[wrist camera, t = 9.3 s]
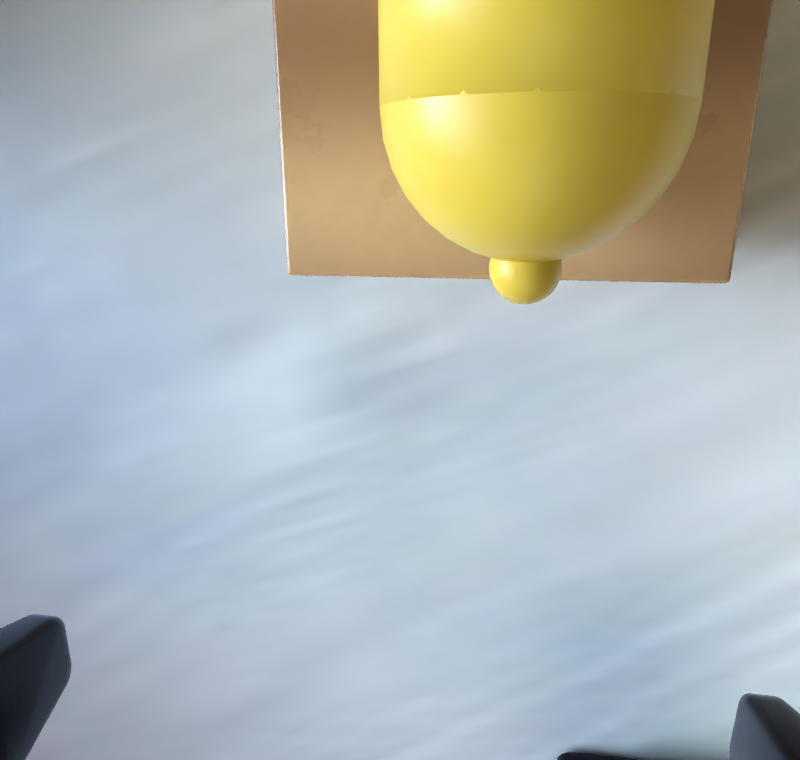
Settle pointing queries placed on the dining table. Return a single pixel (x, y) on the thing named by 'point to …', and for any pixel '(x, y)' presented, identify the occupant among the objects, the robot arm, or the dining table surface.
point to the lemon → (538, 120)
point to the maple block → (419, 241)
